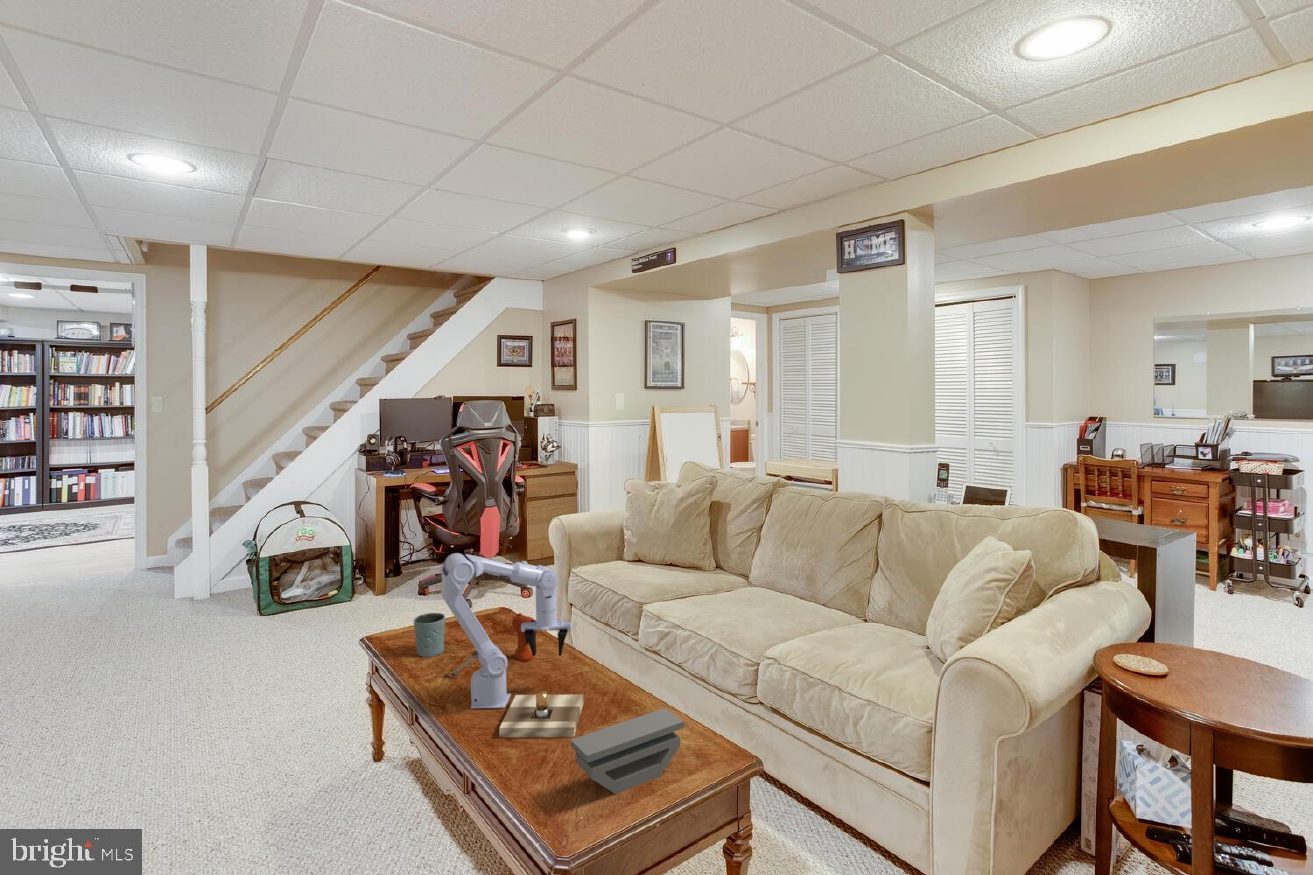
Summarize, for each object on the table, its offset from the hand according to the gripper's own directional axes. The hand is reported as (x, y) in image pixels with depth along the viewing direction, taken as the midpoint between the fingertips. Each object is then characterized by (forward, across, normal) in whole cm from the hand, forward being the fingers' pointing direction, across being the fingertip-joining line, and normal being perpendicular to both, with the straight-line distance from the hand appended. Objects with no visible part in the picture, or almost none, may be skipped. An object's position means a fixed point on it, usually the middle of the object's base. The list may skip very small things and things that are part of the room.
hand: (547, 654), depth 193 cm
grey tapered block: (+11, +26, -44) cm, 53 cm away
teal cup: (+11, -45, +28) cm, 54 cm away
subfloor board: (+10, +2, -18) cm, 21 cm away
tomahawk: (+11, -29, +18) cm, 36 cm away
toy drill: (+11, -9, +20) cm, 24 cm away
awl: (+10, +2, -20) cm, 22 cm away
